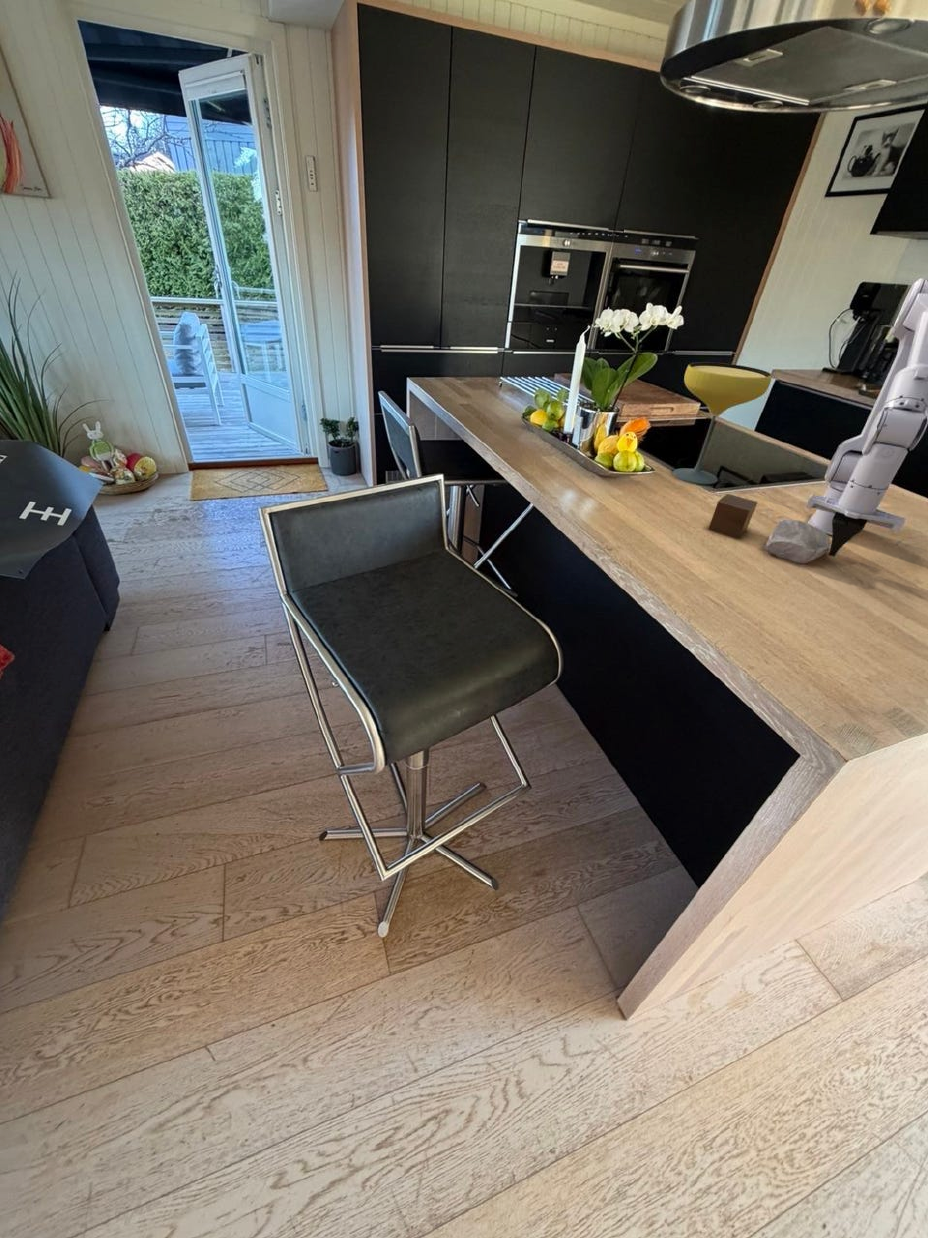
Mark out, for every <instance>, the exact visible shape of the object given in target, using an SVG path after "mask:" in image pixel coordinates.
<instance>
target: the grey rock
mask: <svg viewBox="0 0 928 1238" xmlns="http://www.w3.org/2000/svg"><path fill="white" fill-rule="evenodd" d="M807 523H808V522H804V521H802V520H798V519H792V518H783V519H780V520H779V522H778V523H777V525H776V527H775V528H774V530H773V531H772V532H771V533H770V535H769V537H768V540H767V541H766V544H765V546H764V549H765V550H766V553H767V555H770V556H774V557H777V558H780V559H785V560H788V561H791V562H794V563H797V564H808V563H809V562H811V561H815V560H816V559H818V558H820V557H821V556H823V555H824V554H825V553H827V552H829V551H830V548H831V540H830V536H829V534H826V533H825V532H824V531H822V530H820V529H818V528H816V527H813V526H812V525H810V524H807Z"/></svg>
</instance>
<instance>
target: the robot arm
mask: <svg viewBox="0 0 928 1238" xmlns="http://www.w3.org/2000/svg"><path fill="white" fill-rule="evenodd" d="M900 308H901V309H900V311H899V313H898V314H897V318H896V320H895V322H894V325H893V327H892V329H893V330H892V333H891V335H892V336H893V337H895V338H896V339H897V340H899V342H898V348H897V353H896V356H895V358H894V360H893V363H892V365H891V367H890V370H889V372H888V373H887V376H886V378H885V380H884V383H883V385H882V387H881V389H880V392H879V393H878V396H877V398H876V400H875V402H874V405H873V407H872V409H871V412H870V414H869V415H868V417H867V420H866V423H865V425H864V427H863V429H862V431H861V433H860V434H859V435H857V436H854V437H851V438H849V439H846V440H844V441H842V442H841V443H840V444H839V445H838V447H837V449H836V451H835V452H834V454H833V455H832V458H831V460H830V462H829V464H828V466H827V469H826V471H825V474H824V480H825V482H827V483H828V485H827V487H826V489H825V491H824V493H823V495H822V496H821V495H816V494H811V495H810V496H809V498H808V500H807V502H806V505H805V508H807V509H815V512H814V513H813V514H812V516H811V517H810V518H809V520H808V521H807V522H806V523H807V524H810V525H812V526H813V527H816V528H818V529H820V530H822V531H824V532H825V533H826V534H827V535H828V536H829V535H830V536H832V537H831V543H830V549H829V550H828V556H831V557H836V554H837V553H838V552H839V551H840V549H841V548H842V547H844V545H845V544H846V543H848V541H850V540H851V539H852V538H854V537H855V536H856V535H857V534H858V533H860V532H862V531H863V530H864V529H865V527H866V524H867V523H868V524H872V525H875V526H880V527H883V528H887V529H890V530H891V531H894V532H897V533H899V532H900V530H901V529H902V528H903V525H904V524H905V521H906V518H905V517H902V516H898V515H896V514H892V513H890V512H886V511H883V510H880V509H879V508H878V507H879V505H880V504H881V502H882V500H883V498H884V497H885V495H886V493H887V492H888V489H889V487H890V486H891V484H892V482H893V480H894V478H895V476H896V475H897V473H898V470H899V469H900V467H901V465H902V464H903V462H904V460H905V458H906V456H907V455H908V453H909V451H913V450H914V449H915V447H916V446H917V445H918V443H919V442H920V441H921V439H922V438H923V436H924V434H925V432H926V430H927V427H928V279H925V278H923V277H922V278H921V277H920V278H918V280H916V281H914V282H913V284H912V285H911V287H910V289H909V290H908V293H907V295H906V297H905V299H904V301H903V303H902V306H901V307H900ZM908 450H909V451H908ZM850 451H851V452H850ZM852 451H854V452H852ZM855 451H856V452H860V453H856V452H855ZM861 452H862V453H861Z"/></svg>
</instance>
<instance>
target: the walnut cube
mask: <svg viewBox="0 0 928 1238" xmlns="http://www.w3.org/2000/svg"><path fill="white" fill-rule="evenodd" d="M715 506H716V507H715V509H714V512H713V514H712V518H711V521H710V522H709V526H708V530H709V531H713V532H716V533H719V534H722V535H724V536H725V535H726V536H729V537H732V538H734V539H740V538H741V537H742V535H743V534H744V533H746V531H747V530H748V527H749V525H750V523H751V520H752V517H753V515H754V513H755V510H756V507H757V506H758V501H756V500H755V501H754V500H751V499H747V498H744V497H741V496H737V495H733V494H730V493H726V494H725V495H724V496H723V497H722V498H721V499H720V500H718V501H717V504H716V505H715Z"/></svg>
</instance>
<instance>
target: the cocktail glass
mask: <svg viewBox="0 0 928 1238" xmlns="http://www.w3.org/2000/svg"><path fill="white" fill-rule="evenodd" d="M772 376H773V375H772V374H771V372H769V371H766V370H763V369H759V368H756V367H752V366H751V367H750V366H745V365H739V364H732V363H723V362H711V361H710V362H707V361H701V362H699V361H698V362H691V363H689V364H688V365H687V367H686V369H685V373H684V378H683V380H684V381H683V383H684V385H685V387H686V388H687V389H688V391H689V392H690V393H691V394H693V395H694V396H695V397H696V398H697V399H699V400H700V401H701V402H703V403H704V404H705V405H706V407H707V409H708V412H709V414H710V416H712V418H711V421H710V424H709V428H708V431H707V434H706V437H705V440H704V443H703V446H702V449H701V452H700V455H699V458H698V460H697V462H696V465H695V466H694V468H687V467H686V468H685V467H683V468H682V467H681V468H677V469H674V470H673V472H672V474H673V476H674V477H675V478H677V479H678V480H681V481H684V482H686V483H691V484H696V485H704V486H705V485H714V484H716V483H717V482H718V481H719V478H718V477H717V476H716V475H714V474H713V473H710V472H708V471H705V470H702V463H703V459H704V456H705V452H706V449H707V446H708V442H709V439H710V436H711V432H712V429H713V426H714V424H715V420H716V417H719V416H721V415H722V414H724V412H725V411H727V410H728V409H731V408H733V407H736V406H739V405H743V404H747V403H749V402H752V401H755V400H756V399H758V398H761V397H762V396H763V395H764V394H765V393H766V392H767V391H768V389H769V387H770V385H771V381H772Z"/></svg>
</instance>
